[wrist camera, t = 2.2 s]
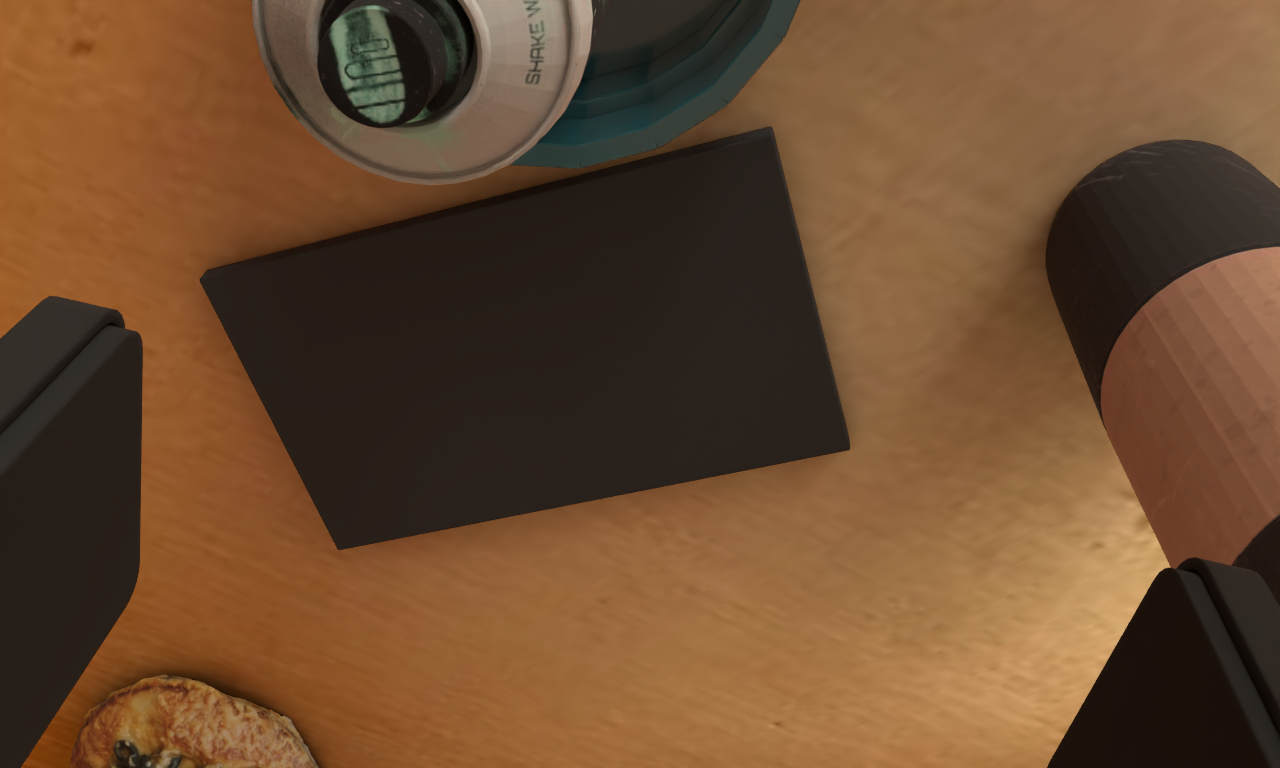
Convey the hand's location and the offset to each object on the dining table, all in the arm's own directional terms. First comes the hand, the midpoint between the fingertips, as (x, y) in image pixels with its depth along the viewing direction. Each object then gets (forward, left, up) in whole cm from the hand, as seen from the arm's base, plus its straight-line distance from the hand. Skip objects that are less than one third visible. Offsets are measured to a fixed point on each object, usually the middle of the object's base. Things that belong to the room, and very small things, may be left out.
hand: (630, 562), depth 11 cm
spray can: (-3, -4, -28) cm, 29 cm away
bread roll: (+28, -31, -29) cm, 50 cm away
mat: (+12, -10, -29) cm, 32 cm away
